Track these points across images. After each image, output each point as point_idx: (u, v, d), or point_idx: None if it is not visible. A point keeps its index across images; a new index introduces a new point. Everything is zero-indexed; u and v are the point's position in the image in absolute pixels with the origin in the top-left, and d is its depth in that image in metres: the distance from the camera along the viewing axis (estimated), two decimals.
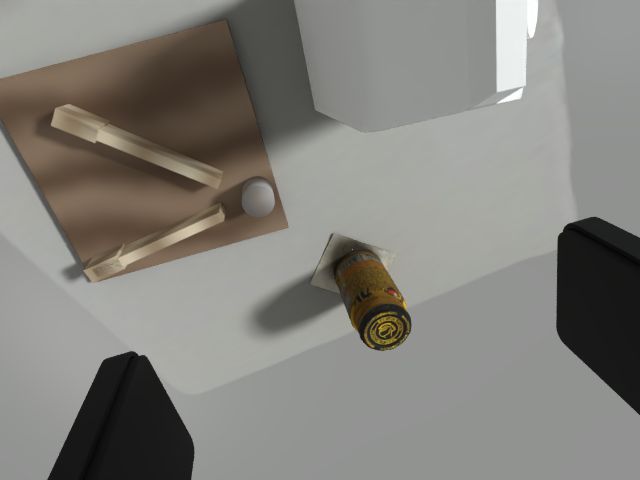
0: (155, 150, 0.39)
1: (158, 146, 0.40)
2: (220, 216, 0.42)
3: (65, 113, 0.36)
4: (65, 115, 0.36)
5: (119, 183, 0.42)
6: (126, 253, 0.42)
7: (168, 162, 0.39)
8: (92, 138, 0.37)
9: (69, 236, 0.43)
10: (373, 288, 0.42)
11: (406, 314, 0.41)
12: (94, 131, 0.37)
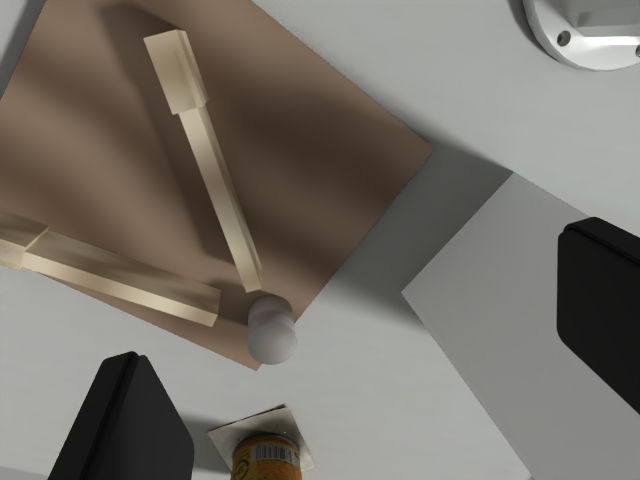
0: (228, 190, 0.24)
1: (230, 182, 0.26)
2: (213, 319, 0.27)
3: (179, 48, 0.20)
4: (177, 50, 0.20)
5: (132, 165, 0.25)
6: (45, 255, 0.24)
7: (230, 219, 0.24)
8: (177, 107, 0.21)
9: None
10: None
11: None
12: (189, 103, 0.21)
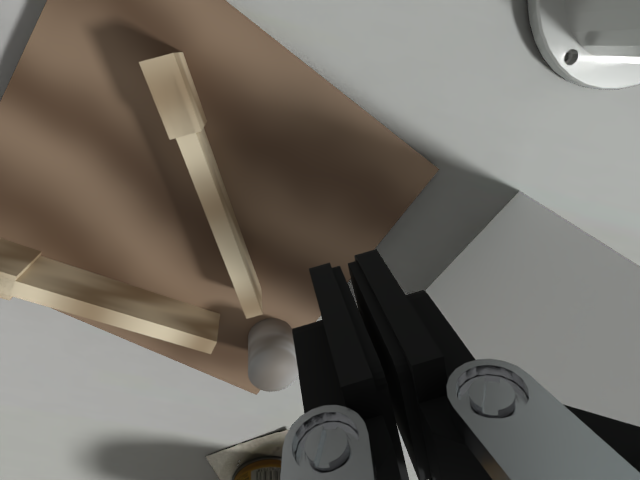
0: (228, 215, 0.23)
1: (229, 205, 0.25)
2: (212, 346, 0.26)
3: (176, 72, 0.19)
4: (174, 74, 0.19)
5: (128, 189, 0.24)
6: (37, 284, 0.23)
7: (229, 245, 0.23)
8: (174, 132, 0.20)
9: None
10: None
11: None
12: (187, 128, 0.20)
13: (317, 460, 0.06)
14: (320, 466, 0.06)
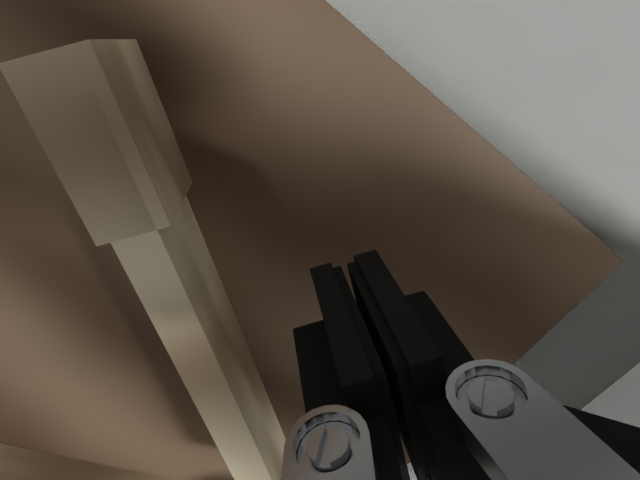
0: (233, 373, 0.12)
1: (236, 337, 0.13)
2: None
3: (102, 90, 0.08)
4: (97, 95, 0.08)
5: (41, 307, 0.12)
6: None
7: (235, 434, 0.12)
8: (107, 230, 0.09)
9: None
10: None
11: None
12: (136, 221, 0.09)
13: (318, 460, 0.06)
14: (321, 466, 0.06)
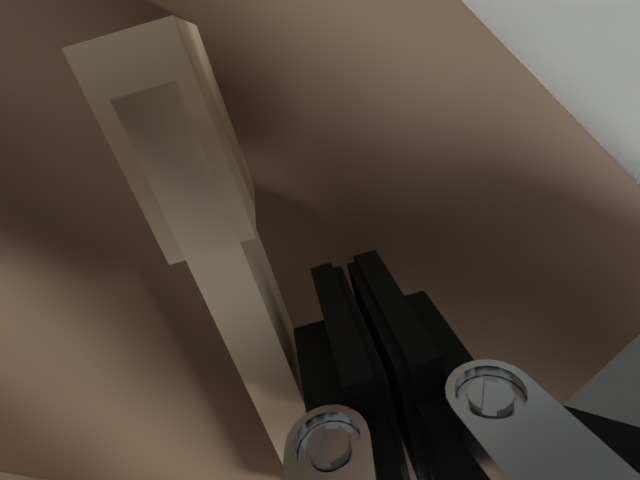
0: None
1: None
2: None
3: (185, 78, 0.06)
4: (179, 83, 0.06)
5: (95, 325, 0.11)
6: None
7: None
8: (182, 245, 0.07)
9: None
10: None
11: None
12: (217, 234, 0.07)
13: (318, 460, 0.06)
14: (321, 466, 0.06)
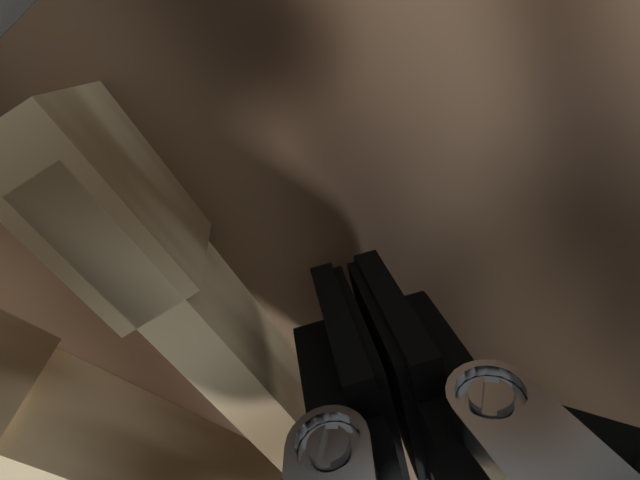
0: None
1: None
2: None
3: (68, 155, 0.06)
4: (64, 162, 0.06)
5: (313, 245, 0.10)
6: (48, 457, 0.08)
7: None
8: (128, 316, 0.07)
9: None
10: None
11: None
12: (158, 297, 0.07)
13: (318, 460, 0.06)
14: (321, 466, 0.06)
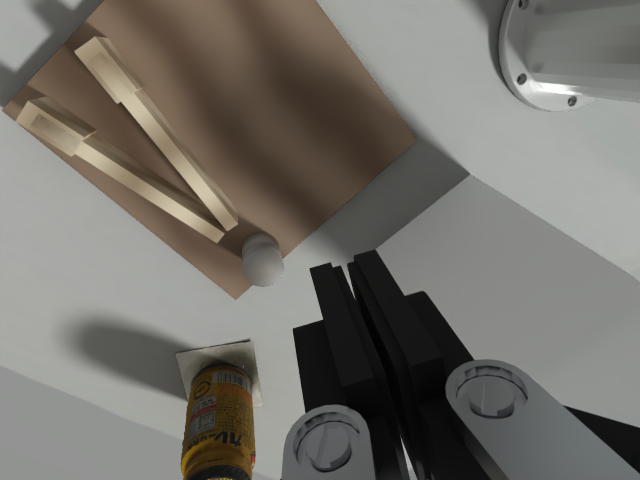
0: (183, 151, 0.30)
1: (185, 147, 0.31)
2: (220, 237, 0.32)
3: (102, 50, 0.26)
4: (102, 52, 0.26)
5: (182, 95, 0.30)
6: (97, 149, 0.28)
7: (191, 174, 0.30)
8: (118, 96, 0.27)
9: (60, 52, 0.28)
10: (245, 441, 0.34)
11: None
12: (126, 91, 0.27)
13: (318, 460, 0.06)
14: (321, 466, 0.06)
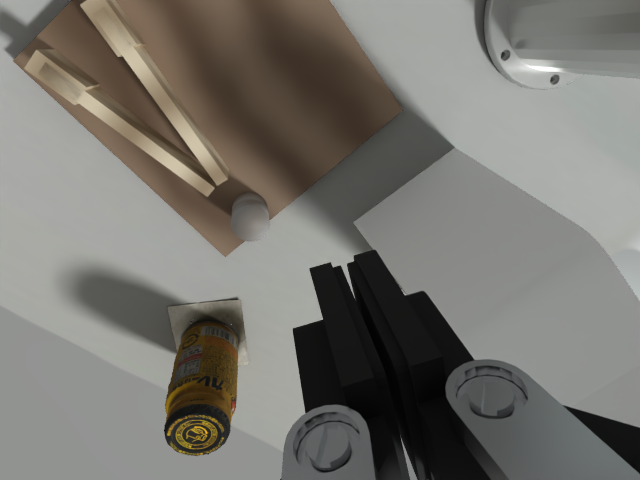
0: (178, 107, 0.32)
1: (181, 104, 0.33)
2: (210, 191, 0.34)
3: (106, 4, 0.28)
4: (105, 6, 0.28)
5: (180, 54, 0.33)
6: (98, 99, 0.30)
7: (185, 128, 0.32)
8: (119, 50, 0.29)
9: (68, 8, 0.30)
10: (226, 386, 0.37)
11: (226, 439, 0.35)
12: (126, 45, 0.29)
13: (318, 460, 0.06)
14: (321, 466, 0.06)
